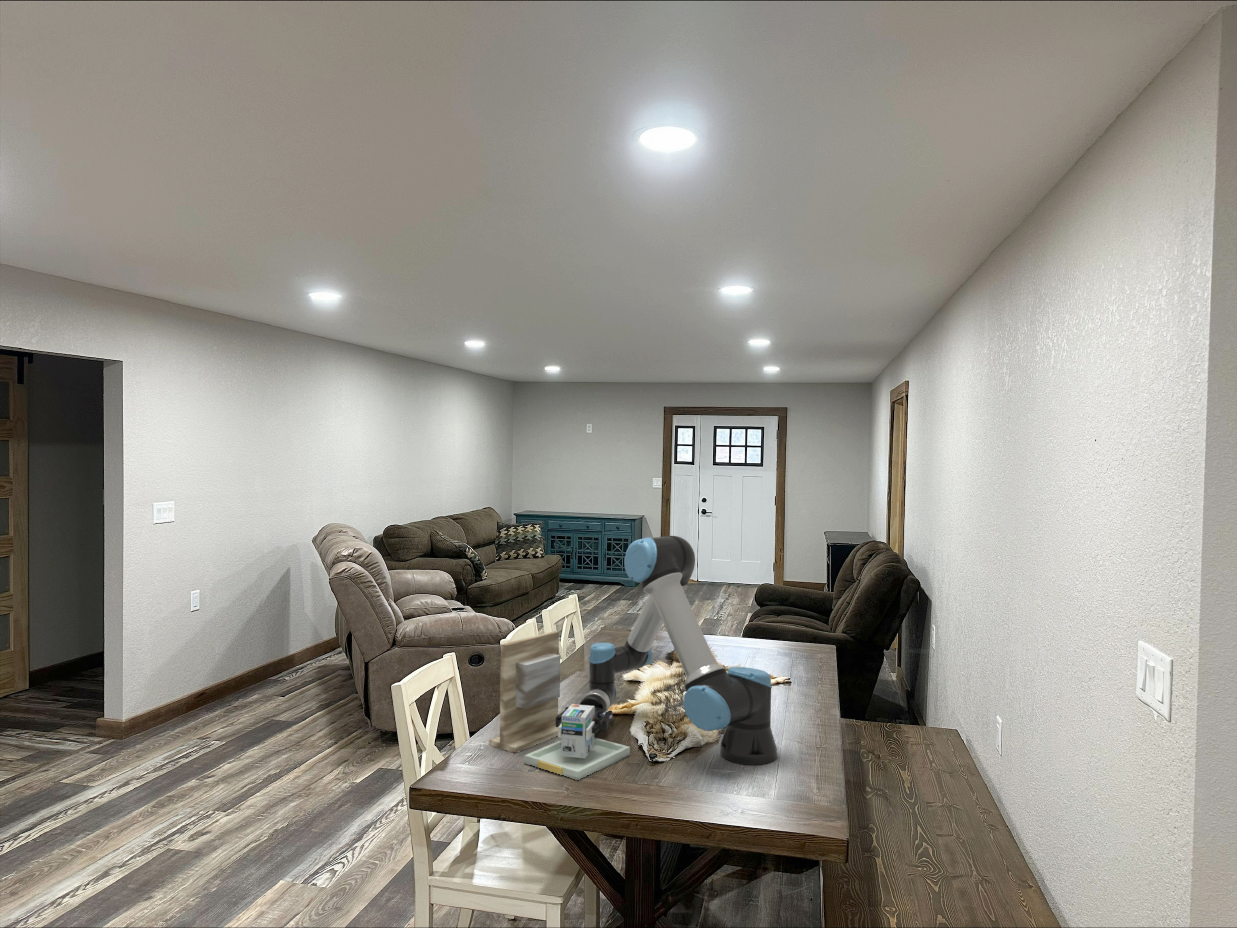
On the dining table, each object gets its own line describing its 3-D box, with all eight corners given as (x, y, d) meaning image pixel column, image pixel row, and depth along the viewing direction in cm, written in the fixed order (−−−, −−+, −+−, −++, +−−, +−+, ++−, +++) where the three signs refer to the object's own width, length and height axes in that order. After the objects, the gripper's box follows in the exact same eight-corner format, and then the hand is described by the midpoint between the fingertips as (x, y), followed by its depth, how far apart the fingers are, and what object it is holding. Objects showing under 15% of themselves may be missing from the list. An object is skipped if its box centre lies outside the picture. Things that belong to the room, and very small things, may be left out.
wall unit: (568, 731, 235) (569, 633, 235) (515, 753, 217) (516, 647, 217) (542, 724, 241) (543, 629, 241) (489, 745, 223) (490, 642, 223)
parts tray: (629, 755, 217) (630, 746, 217) (576, 781, 199) (576, 772, 199) (578, 740, 227) (578, 732, 227) (523, 764, 209) (523, 755, 209)
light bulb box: (585, 759, 207) (586, 717, 207) (560, 756, 209) (560, 715, 209) (595, 744, 218) (595, 704, 218) (570, 742, 219) (571, 703, 219)
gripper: (627, 722, 229) (610, 751, 206) (560, 717, 233) (536, 744, 210) (627, 696, 229) (610, 721, 206) (561, 691, 233) (537, 716, 210)
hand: (573, 733), depth 208 cm, fingers closed on light bulb box, 7 cm apart
